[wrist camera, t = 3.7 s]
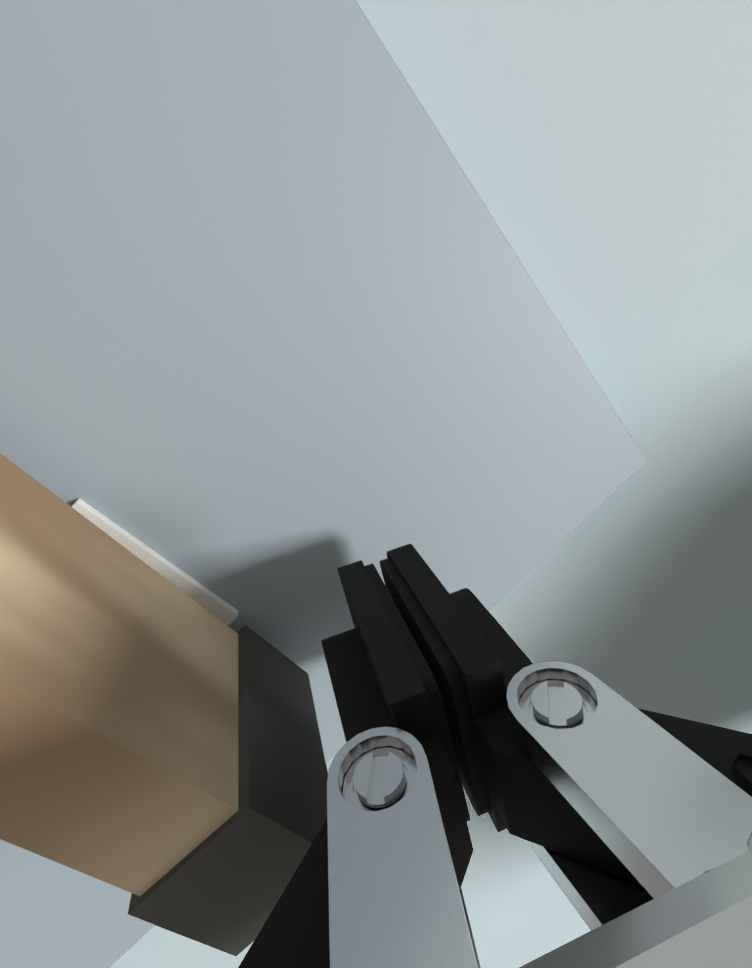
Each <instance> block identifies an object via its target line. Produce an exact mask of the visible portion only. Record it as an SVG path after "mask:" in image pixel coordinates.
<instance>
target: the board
mask: <svg viewBox="0 0 752 968" xmlns="http://www.w3.org/2000/svg"><path fill="white" fill-rule="evenodd" d="M0 453H1V454H2V455H4V456H5V457H6V458H8V459H9V460H10V461H12V462H13V463H14V464H16V465H17V466H18V467H20V468H21V469H22V470H24V471H25V472H26V473H27V474H29V475H30V476H31V477H33V478H34V479H35V480H37V481H38V482H39V483H41V484H42V485H43V486H45V487H46V488H47V489H49V490H50V491H51V492H52V493H54V494H55V495H56V496H58V497H59V498H60V499H62V500H63V501H64V502H66V503H67V504H68V505H70V506H71V507H72V508H74V509H75V510H76V511H77V512H79V513H80V514H81V515H83V516H84V517H85V518H87V519H88V520H89V521H91V522H92V523H93V524H95V525H96V526H97V527H98V528H100V529H101V530H102V531H104V532H105V533H106V534H108V535H109V536H110V537H112V538H113V539H114V540H116V541H117V542H118V543H120V544H121V545H122V546H123V547H125V548H126V549H127V550H129V551H130V552H131V553H133V554H134V555H135V556H137V557H138V558H139V559H141V560H142V561H143V562H145V563H146V564H147V565H148V566H150V567H151V568H152V569H154V570H155V571H156V572H158V573H159V574H160V575H162V576H163V577H164V578H166V579H167V580H168V581H170V582H171V583H172V584H173V585H175V586H176V587H177V588H179V589H180V590H181V591H183V592H184V593H185V594H187V595H188V596H189V597H191V598H192V599H193V600H195V601H196V602H197V603H198V604H200V605H201V606H202V607H204V608H205V609H206V610H208V611H209V612H210V613H212V614H213V615H214V616H216V617H217V618H218V619H219V620H221V621H222V622H223V623H225V624H226V625H227V626H229V627H230V628H231V629H233V630H234V631H235V632H238V631H239V630H240V629H241V628H242V627H243V626H244V625H246V626H248V627H249V628H250V629H251V630H253V631H254V632H255V633H257V634H258V635H259V636H260V637H262V638H263V639H264V640H266V641H267V642H268V643H269V644H271V645H272V646H273V647H275V648H276V649H277V650H278V651H280V652H281V653H282V654H284V655H285V656H286V657H287V658H289V659H290V660H291V661H293V662H294V663H295V664H296V665H298V666H299V667H300V668H302V669H303V670H304V671H305V672H307V673H308V675H309V680H310V685H311V691H312V696H313V701H314V706H315V711H316V716H317V721H318V726H319V732H320V737H321V742H322V747H323V752H324V757H325V762H326V763H327V762H328V761H329V760H330V759H331V758H332V757H334V756H335V755H336V754H337V753H338V751H339V750H340V749H341V748H342V747H343V745H344V744H345V743H346V739H345V735H344V731H343V727H342V723H341V719H340V715H339V711H338V707H337V703H336V699H335V695H334V691H333V687H332V683H331V679H330V675H329V671H328V667H327V663H326V659H325V655H324V651H323V647H322V642H321V640H323V639H326V638H328V637H331V636H334V635H337V634H340V633H342V632H345V631H348V630H351V629H353V628H355V627H354V624H353V620H352V617H351V614H350V610H349V607H348V604H347V600H346V597H345V594H344V590H343V587H342V584H341V580H340V577H339V573H338V570H337V568H340V567H342V566H345V565H348V564H351V563H354V562H357V561H360V560H362V562H363V564H364V566H366V565H369V564H372V563H373V564H374V566H375V568H376V570H377V571H378V573H379V575H380V577H381V579H382V581H383V582H384V579H383V575H382V571H381V567H380V561H381V560H384V559H387V551H390V550H392V549H395V548H398V547H401V546H404V545H407V544H412V545H413V546H414V548H415V549H416V550H417V552H418V553H419V554H420V556H421V557H422V558H423V560H424V561H425V562H426V564H427V565H428V566H429V567H430V569H431V570H432V571H433V573H434V574H435V575H436V577H437V578H438V579H439V581H440V582H441V583H442V585H443V586H444V587H445V589H446V590H447V591H448V592H449V594H450V593H453V592H455V591H458V590H461V589H464V588H468V589H469V590H470V591H471V592H472V593H473V594H474V595H475V596H476V597H477V598H478V600H479V601H480V602H481V603H482V604H483V606H484V607H485V608H486V609H487V610H489V609H490V608H491V607H493V606H494V605H495V604H496V603H497V602H498V601H499V600H500V599H501V598H502V597H503V596H504V595H505V594H506V593H507V592H508V591H509V590H511V589H512V588H513V587H514V586H515V585H516V584H517V583H518V582H519V581H520V580H521V579H522V578H523V577H524V576H525V575H526V574H528V573H529V572H530V571H531V570H532V569H533V568H534V567H535V566H536V565H537V564H538V563H539V562H540V561H541V560H542V559H543V558H544V557H546V556H547V555H548V554H549V553H550V552H551V551H552V550H553V549H554V548H555V547H556V546H557V545H558V544H559V543H560V542H561V541H562V540H564V539H565V538H566V537H567V536H568V535H569V534H570V533H571V532H572V531H573V530H574V529H575V528H576V527H577V526H578V525H579V524H581V523H582V522H583V521H584V520H585V519H586V518H587V517H588V516H589V515H590V514H591V513H592V512H593V511H594V510H595V509H596V508H597V507H599V506H600V505H601V504H602V503H603V502H604V501H605V500H606V499H607V498H608V497H609V496H610V495H611V494H612V493H613V492H614V491H615V490H617V489H618V488H619V487H620V486H621V485H622V484H623V483H624V482H625V481H626V480H627V479H628V478H629V477H630V476H631V475H632V474H634V473H635V472H636V471H637V470H638V469H639V468H640V467H641V466H642V465H643V464H644V463H645V462H646V461H647V460H646V459H645V457H644V456H643V454H642V452H641V451H640V449H639V448H638V446H637V445H636V443H635V441H634V440H633V438H632V437H631V435H630V433H629V432H628V430H627V429H626V427H625V426H624V424H623V422H622V421H621V419H620V418H619V416H618V415H617V413H616V411H615V410H614V408H613V407H612V405H611V403H610V402H609V400H608V399H607V397H606V396H605V394H604V392H603V391H602V389H601V388H600V386H599V384H598V383H597V381H596V380H595V378H594V377H593V375H592V373H591V372H590V370H589V369H588V367H587V365H586V364H585V362H584V361H583V359H582V358H581V356H580V354H579V353H578V351H577V350H576V348H575V347H574V345H573V343H572V342H571V340H570V339H569V337H568V335H567V334H566V332H565V331H564V329H563V328H562V326H561V324H560V323H559V321H558V320H557V318H556V316H555V315H554V313H553V312H552V310H551V309H550V307H549V305H548V304H547V302H546V301H545V299H544V297H543V296H542V294H541V293H540V291H539V290H538V288H537V286H536V285H535V283H534V282H533V280H532V278H531V277H530V275H529V274H528V272H527V271H526V269H525V267H524V266H523V264H522V263H521V261H520V260H519V258H518V256H517V255H516V253H515V252H514V250H513V248H512V247H511V245H510V244H509V242H508V241H507V239H506V237H505V236H504V234H503V233H502V231H501V229H500V228H499V226H498V225H497V223H496V222H495V220H494V218H493V217H492V215H491V214H490V212H489V210H488V209H487V207H486V206H485V204H484V203H483V201H482V199H481V198H480V196H479V195H478V193H477V191H476V190H475V188H474V187H473V185H472V184H471V182H470V180H469V179H468V177H467V176H466V174H465V173H464V171H463V169H462V168H461V166H460V165H459V163H458V161H457V160H456V158H455V157H454V155H453V154H452V152H451V150H450V149H449V147H448V146H447V144H446V142H445V141H444V139H443V138H442V136H441V135H440V133H439V131H438V130H437V128H436V127H435V125H434V123H433V122H432V120H431V119H430V117H429V116H428V114H427V112H426V111H425V109H424V108H423V106H422V105H421V103H420V101H419V100H418V98H417V97H416V95H415V93H414V92H413V90H412V89H411V87H410V86H409V84H408V82H407V81H406V79H405V78H404V76H403V74H402V73H401V71H400V70H399V68H398V67H397V65H396V63H395V62H394V60H393V59H392V57H391V55H390V54H389V52H388V51H387V49H386V48H385V46H384V44H383V43H382V41H381V40H380V38H379V36H378V35H377V33H376V32H375V30H374V29H373V27H372V25H371V24H370V22H369V21H368V19H367V18H366V16H365V14H364V13H363V11H362V10H361V8H360V6H359V5H358V3H357V2H356V0H0ZM384 584H385V582H384ZM130 899H131V893H130V892H128V891H125V890H123V889H121V888H118V887H116V886H113V885H111V884H108V883H106V882H103V881H101V880H99V879H96V878H94V877H91V876H89V875H86V874H84V873H82V872H79V871H77V870H74V869H72V868H69V867H67V866H64V865H62V864H60V863H57V862H55V861H52V860H50V859H47V858H45V857H43V856H40V855H38V854H35V853H33V852H30V851H28V850H25V849H23V848H21V847H18V846H16V845H13V844H11V843H8V842H6V841H4V840H1V839H0V968H110V967H111V966H112V965H113V964H114V963H115V962H116V961H117V960H118V959H119V958H120V957H121V956H123V955H124V954H125V953H126V952H127V951H128V950H129V949H130V948H131V947H132V946H133V945H134V944H135V943H136V942H137V941H138V940H140V939H141V938H142V937H143V936H144V935H145V934H146V933H147V932H148V931H149V930H150V929H151V928H152V927H153V926H154V924H152V923H149V922H146V921H144V920H141V919H139V918H136V917H133V916H131V915H128V910H129V904H130Z"/></svg>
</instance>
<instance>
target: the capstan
mask: <svg viewBox="0 0 752 968" xmlns="http://www.w3.org/2000/svg"><path fill="white" fill-rule="evenodd" d="M327 779H328V773H327V767H326V762H325V757H324V752H323V747H322V742H321V737H320V732H319V726H318V721H317V716H316V711H315V706H314V701H313V696H312V691H311V685H310V680H309V675H308V673H307V672H305V671H304V670H303V669H302V668H300V667H299V666H298V665H296V664H295V663H294V662H293V661H291V660H290V659H289V658H287V657H286V656H285V655H284V654H282V653H281V652H280V651H278V650H277V649H276V648H275V647H273V646H272V645H271V644H269V643H268V642H267V641H266V640H264V639H263V638H262V637H260V636H259V635H258V634H257V633H255V632H254V631H253V630H251V629H250V628H249V627H248V626H246V625H244V626H243V627H242V628H241V629H240V630H239V631H238V632H235V631H234V630H233V629H231V628H230V627H229V626H227V625H226V624H225V623H223V622H222V621H221V620H219V619H218V618H217V617H216V616H214V615H213V614H212V613H210V612H209V611H208V610H206V609H205V608H204V607H202V606H201V605H200V604H198V603H197V602H196V601H195V600H193V599H192V598H191V597H189V596H188V595H187V594H185V593H184V592H183V591H181V590H180V589H179V588H177V587H176V586H175V585H173V584H172V583H171V582H170V581H168V580H167V579H166V578H164V577H163V576H162V575H160V574H159V573H158V572H156V571H155V570H154V569H152V568H151V567H150V566H148V565H147V564H146V563H145V562H143V561H142V560H141V559H139V558H138V557H137V556H135V555H134V554H133V553H131V552H130V551H129V550H127V549H126V548H125V547H123V546H122V545H121V544H120V543H118V542H117V541H116V540H114V539H113V538H112V537H110V536H109V535H108V534H106V533H105V532H104V531H102V530H101V529H100V528H98V527H97V526H96V525H95V524H93V523H92V522H91V521H89V520H88V519H87V518H85V517H84V516H83V515H81V514H80V513H79V512H77V511H76V510H75V509H74V508H72V507H71V506H70V505H68V504H67V503H66V502H64V501H63V500H62V499H60V498H59V497H58V496H56V495H55V494H54V493H52V492H51V491H50V490H49V489H47V488H46V487H45V486H43V485H42V484H41V483H39V482H38V481H37V480H35V479H34V478H33V477H31V476H30V475H29V474H27V473H26V472H25V471H24V470H22V469H21V468H20V467H18V466H17V465H16V464H14V463H13V462H12V461H10V460H9V459H8V458H6V457H5V456H4V455H2V454H1V453H0V839H1V840H4V841H6V842H8V843H11V844H13V845H16V846H18V847H21V848H23V849H25V850H28V851H30V852H33V853H35V854H38V855H40V856H43V857H45V858H47V859H50V860H52V861H55V862H57V863H60V864H62V865H64V866H67V867H69V868H72V869H74V870H77V871H79V872H82V873H84V874H86V875H89V876H91V877H94V878H96V879H99V880H101V881H103V882H106V883H108V884H111V885H113V886H116V887H118V888H121V889H123V890H125V891H128V892H130V893H131V899H130V904H129V910H128V915H131V916H133V917H136V918H139V919H141V920H144V921H146V922H149V923H152V924H154V925H157V926H159V927H162V928H164V929H167V930H170V931H172V932H175V933H177V934H180V935H183V936H185V937H188V938H190V939H193V940H196V941H198V942H201V943H203V944H206V945H208V946H211V947H214V948H216V949H219V950H221V951H224V952H227V953H229V954H232V955H234V956H237V955H238V954H239V953H240V952H242V951H243V950H244V949H245V948H246V947H247V946H248V945H250V944H251V943H252V942H253V941H254V940H255V939H256V937H257V936H258V934H259V932H260V931H261V929H262V927H263V925H264V924H265V922H266V920H267V919H268V917H269V915H270V914H271V912H272V910H273V909H274V907H275V905H276V904H277V902H278V900H279V898H280V897H281V895H282V893H283V892H284V890H285V888H286V887H287V885H288V883H289V882H290V880H291V878H292V876H293V875H294V873H295V871H296V870H297V868H298V866H299V865H300V863H301V861H302V860H303V858H304V856H305V855H306V853H307V851H308V849H309V848H310V846H311V844H312V843H313V841H314V839H315V838H316V836H317V834H318V833H319V831H320V829H321V828H322V826H323V824H324V822H325V821H326V819H327Z"/></svg>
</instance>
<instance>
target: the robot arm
mask: <svg viewBox="0 0 752 968" xmlns="http://www.w3.org/2000/svg"><path fill="white" fill-rule="evenodd" d="M380 567H381V571H382V575H383V579H384V582H385V584H384V582H383V581H382V579H381V577H380V575H379V573H378V571H377V570H376V568H375V566H374V564H373V563H372V564H369V565H366V566H364V564H363V562H362V560H360V561H357V562H354V563H351V564H348V565H345V566H342V567H340V568H337V570H338V573H339V577H340V580H341V584H342V587H343V590H344V594H345V597H346V600H347V604H348V607H349V610H350V614H351V617H352V620H353V624H354V627H355V628H353V629H351V630H348V631H345V632H342V633H340V634H337V635H334V636H331V637H328V638H326V639H323V640H321V642H322V647H323V651H324V655H325V659H326V663H327V667H328V671H329V675H330V679H331V683H332V687H333V691H334V695H335V699H336V703H337V707H338V711H339V715H340V719H341V723H342V727H343V731H344V735H345V739H346V743H345V744H344V745H343V747H342V748H341V749H340V750H339V751H338V753H337V754H336V755H335V757H334V759H333V761H332V764H331V766H330V768H329V772H328V779H327V819H326V821H325V822H324V824H323V826H322V828H321V829H320V831H319V833H318V834H317V836H316V838H315V839H314V841H313V843H312V844H311V846H310V848H309V849H308V851H307V853H306V855H305V856H304V858H303V860H302V861H301V863H300V865H299V866H298V868H297V870H296V871H295V873H294V875H293V876H292V878H291V880H290V882H289V883H288V885H287V887H286V888H285V890H284V892H283V893H282V895H281V897H280V898H279V900H278V902H277V904H276V905H275V907H274V909H273V910H272V912H271V914H270V915H269V917H268V919H267V920H266V922H265V924H264V925H263V927H262V929H261V931H260V932H259V934H258V936H257V937H256V939H255V941H254V942H253V944H252V946H251V947H250V949H249V951H248V952H247V954H246V956H245V958H244V959H243V961H242V963H241V964H240V966H239V968H481V966H480V962H479V958H478V954H477V950H476V946H475V942H474V937H473V933H472V929H471V925H470V921H469V917H468V913H467V909H466V905H465V901H464V896H463V893H462V889H461V885H462V882H463V879H464V876H465V873H466V870H467V867H468V864H469V861H470V858H471V855H472V852H473V848H472V843H471V839H470V835H469V831H468V826H467V822H466V821H469V820H470V816H469V812H468V808H467V803H466V799H465V795H464V790H463V787H464V789H465V791H466V793H467V795H468V797H469V799H470V801H471V804H472V806H473V808H474V810H475V812H476V813H477V815H478V816H480V815H482V814H484V813H486V812H488V813H489V815H490V817H491V819H492V821H493V823H494V825H495V827H496V829H497V831H498V832H500V831H502V830H504V829H506V828H507V829H508V831H509V833H510V834H513V835H515V836H518V837H520V838H523V839H525V840H528V841H530V842H531V844H532V847H533V849H534V851H535V852H536V854H537V856H538V858H539V860H540V861H541V862H542V864H543V865H544V866H545V868H546V869H547V871H548V872H549V873H550V875H551V876H552V877H553V879H554V880H555V882H556V883H557V884H558V886H559V887H560V888H561V890H562V891H563V893H564V894H565V895H566V897H567V898H568V899H569V901H570V902H571V903H572V905H573V906H574V908H575V909H576V910H577V912H578V913H579V914H580V916H581V917H582V919H583V920H584V921H585V923H586V924H587V925H588V927H589V928H590V930H591V931H590V932H588V933H586V934H584V935H582V936H580V937H578V938H576V939H574V940H573V941H571V942H569V943H567V944H565V945H563V946H561V947H559V948H557V949H555V950H553V951H551V952H549V953H547V954H545V955H543V956H541V957H539V958H537V959H535V960H533V961H531V962H529V963H528V964H526V965H524V966H522V967H520V968H752V734H748V733H744V732H739V731H735V730H731V729H726V728H722V727H717V726H713V725H708V724H704V723H699V722H695V721H691V720H686V719H682V718H677V717H673V716H668V715H664V714H660V713H655V712H651V711H646V710H642V709H637V708H636V707H635V706H633V705H632V704H631V703H629V702H628V701H627V700H625V699H624V698H623V697H622V696H620V695H619V694H618V693H616V692H615V691H614V690H613V689H611V688H610V687H609V686H607V685H606V684H605V683H603V682H602V681H601V680H600V679H598V678H597V677H596V676H594V675H593V674H592V673H590V672H588V671H586V670H585V669H583V668H581V667H579V666H576V665H573V664H570V663H567V662H558V661H545V662H538V663H534V664H533V663H532V662H531V661H530V660H529V659H528V657H527V656H526V655H525V654H524V653H523V652H522V650H521V649H520V648H519V647H518V646H517V644H516V643H515V642H514V641H513V640H512V639H511V637H510V636H509V635H508V634H507V633H506V631H505V630H504V629H503V628H502V627H501V626H500V624H499V623H498V622H497V621H496V620H495V618H494V617H493V616H492V615H491V614H490V613H489V611H488V610H487V609H486V608H485V607H484V606H483V604H482V603H481V602H480V601H479V600H478V598H477V597H476V596H475V595H474V594H473V593H472V592H471V591H470V590H469V589H468V588H464V589H461V590H458V591H455V592H453V593H450V594H449V592H448V591H447V590H446V589H445V587H444V586H443V585H442V583H441V582H440V581H439V579H438V578H437V577H436V575H435V574H434V573H433V571H432V570H431V569H430V567H429V566H428V565H427V564H426V562H425V561H424V560H423V558H422V557H421V556H420V554H419V553H418V552H417V550H416V549H415V548H414V546H413V545H412V544H407V545H404V546H401V547H398V548H395V549H392V550H390V551H387V559H384V560H381V561H380ZM462 785H463V786H462Z"/></svg>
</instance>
